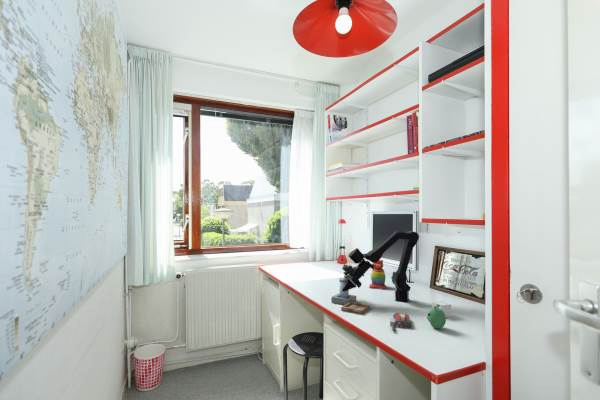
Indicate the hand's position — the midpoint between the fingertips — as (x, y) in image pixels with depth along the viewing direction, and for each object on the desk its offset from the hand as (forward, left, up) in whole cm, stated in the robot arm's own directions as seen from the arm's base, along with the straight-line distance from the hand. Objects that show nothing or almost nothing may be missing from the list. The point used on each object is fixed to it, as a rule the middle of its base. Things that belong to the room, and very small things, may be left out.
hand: (341, 289), depth 177 cm
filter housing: (-1, -1, -7) cm, 7 cm away
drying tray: (-12, +8, -7) cm, 16 cm away
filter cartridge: (-1, -1, -7) cm, 7 cm away
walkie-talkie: (-37, +18, -7) cm, 42 cm away
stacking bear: (-5, -44, -7) cm, 45 cm away
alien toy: (-51, +12, -7) cm, 53 cm away
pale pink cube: (-50, -7, -7) cm, 51 cm away
